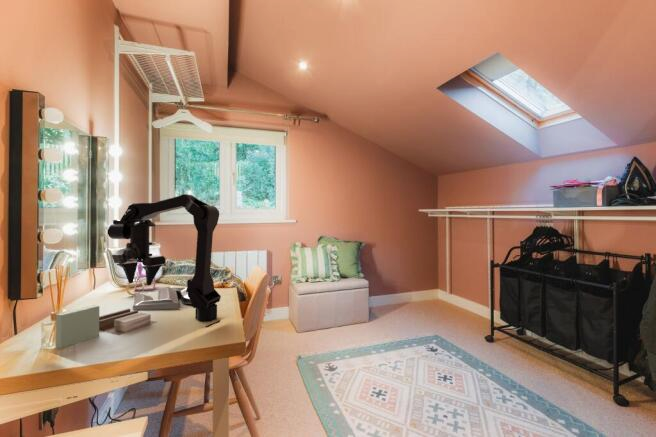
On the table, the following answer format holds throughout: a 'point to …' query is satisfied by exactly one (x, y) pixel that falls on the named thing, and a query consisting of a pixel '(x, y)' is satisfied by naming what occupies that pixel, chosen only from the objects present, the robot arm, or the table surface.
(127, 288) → the bracelet
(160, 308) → the emblem
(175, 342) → the table surface
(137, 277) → the toy chair
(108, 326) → the rack
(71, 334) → the green panel
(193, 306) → the robot arm
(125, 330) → the offcut lower
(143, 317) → the offcut upper
